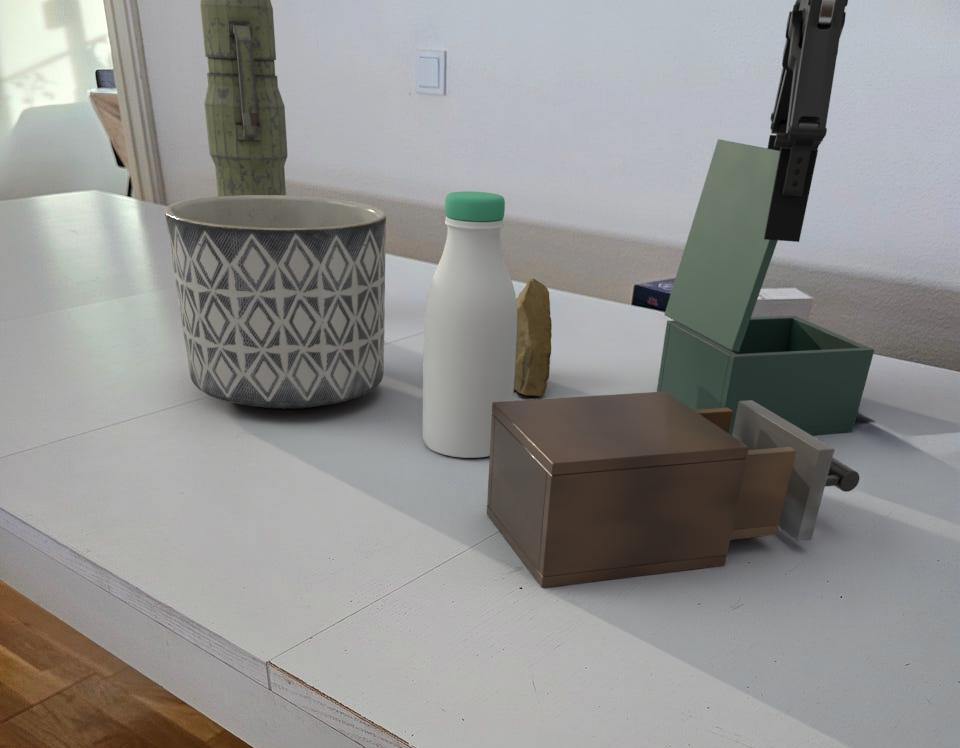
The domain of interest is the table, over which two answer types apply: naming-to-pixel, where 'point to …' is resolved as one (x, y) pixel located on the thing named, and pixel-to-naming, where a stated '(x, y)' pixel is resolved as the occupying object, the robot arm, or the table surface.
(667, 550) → the cabinet
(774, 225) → the robot arm
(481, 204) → the milk bottle
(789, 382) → the chest
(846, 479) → the drawer
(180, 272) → the planter
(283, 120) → the thermos
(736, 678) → the table surface
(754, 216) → the lid
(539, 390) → the rock
